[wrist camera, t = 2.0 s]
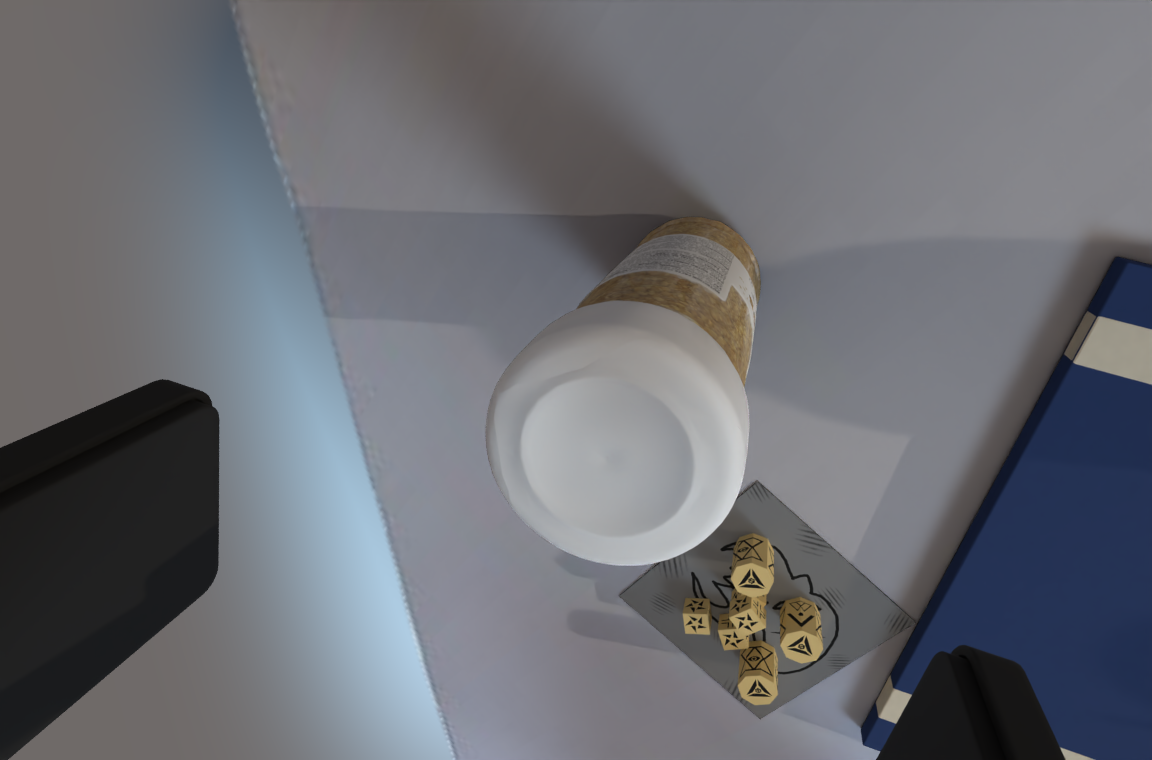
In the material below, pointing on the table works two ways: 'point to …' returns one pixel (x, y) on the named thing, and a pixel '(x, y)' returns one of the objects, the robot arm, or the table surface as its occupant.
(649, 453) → the sprinkles bottle
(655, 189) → the table surface
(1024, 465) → the towel
